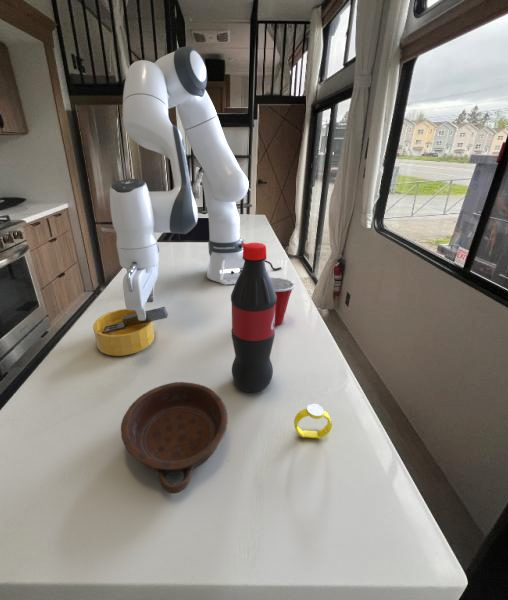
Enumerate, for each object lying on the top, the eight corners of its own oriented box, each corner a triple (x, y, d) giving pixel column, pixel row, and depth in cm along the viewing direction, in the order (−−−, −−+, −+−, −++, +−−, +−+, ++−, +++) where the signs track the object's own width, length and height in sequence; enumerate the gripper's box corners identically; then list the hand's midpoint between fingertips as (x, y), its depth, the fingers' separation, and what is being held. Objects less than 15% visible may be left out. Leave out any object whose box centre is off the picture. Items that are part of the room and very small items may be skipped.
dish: (111, 507, 45) (105, 484, 43) (136, 397, 65) (132, 377, 63) (235, 495, 46) (235, 472, 44) (222, 390, 66) (222, 371, 64)
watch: (294, 441, 55) (297, 415, 52) (292, 428, 57) (294, 402, 54) (330, 442, 54) (335, 416, 52) (326, 429, 57) (330, 403, 54)
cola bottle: (275, 374, 71) (283, 239, 57) (267, 400, 63) (274, 253, 50) (238, 366, 73) (238, 236, 60) (226, 391, 66) (223, 249, 53)
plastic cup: (296, 316, 94) (299, 277, 89) (286, 334, 85) (289, 292, 80) (260, 309, 98) (261, 272, 93) (247, 326, 89) (248, 286, 84)
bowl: (159, 326, 90) (156, 307, 88) (148, 357, 77) (145, 335, 75) (108, 327, 90) (104, 308, 88) (89, 358, 77) (84, 337, 75)
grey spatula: (168, 313, 82) (165, 305, 81) (166, 319, 79) (163, 310, 78) (106, 327, 84) (102, 320, 83) (102, 333, 81) (98, 326, 80)
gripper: (142, 271, 64) (151, 331, 70) (159, 243, 83) (165, 292, 89) (111, 272, 64) (122, 332, 70) (135, 243, 83) (142, 292, 89)
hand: (146, 309), depth 80 cm, fingers open, 8 cm apart
